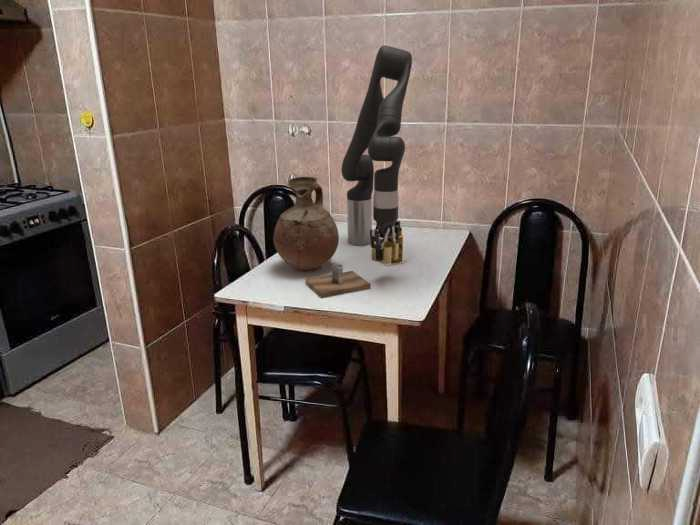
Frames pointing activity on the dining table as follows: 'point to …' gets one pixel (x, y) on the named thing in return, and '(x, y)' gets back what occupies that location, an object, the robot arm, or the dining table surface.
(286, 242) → the jug
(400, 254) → the condiment
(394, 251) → the collar
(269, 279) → the dining table surface
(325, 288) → the keyed stand
